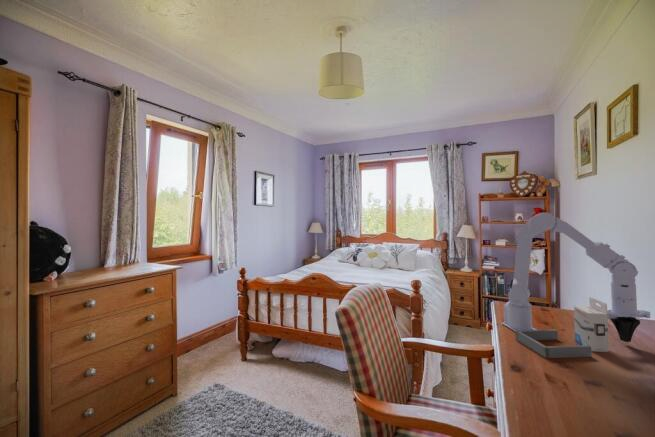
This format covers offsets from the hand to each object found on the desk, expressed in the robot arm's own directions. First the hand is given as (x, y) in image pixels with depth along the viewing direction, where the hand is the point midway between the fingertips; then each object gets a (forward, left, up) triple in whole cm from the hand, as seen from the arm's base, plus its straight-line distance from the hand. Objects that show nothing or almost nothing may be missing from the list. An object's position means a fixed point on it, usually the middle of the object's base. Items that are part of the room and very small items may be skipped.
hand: (625, 340), depth 96 cm
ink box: (0, -11, -2) cm, 11 cm away
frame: (0, -24, -1) cm, 24 cm away
